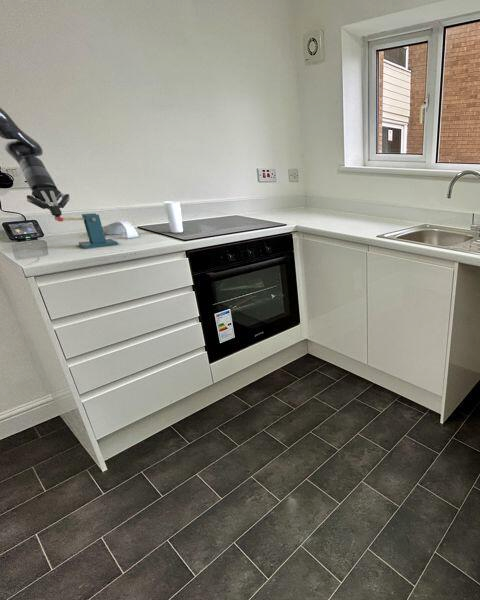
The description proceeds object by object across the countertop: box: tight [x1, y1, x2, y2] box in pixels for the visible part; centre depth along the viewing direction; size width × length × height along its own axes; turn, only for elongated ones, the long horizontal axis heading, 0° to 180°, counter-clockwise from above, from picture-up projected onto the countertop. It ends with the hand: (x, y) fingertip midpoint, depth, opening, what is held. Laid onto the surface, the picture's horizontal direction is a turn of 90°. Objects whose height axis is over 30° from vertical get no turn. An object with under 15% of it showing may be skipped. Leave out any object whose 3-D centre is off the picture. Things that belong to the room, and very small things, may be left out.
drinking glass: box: [163, 201, 184, 234], centre depth 177 cm, size 7×7×15 cm
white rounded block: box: [102, 220, 139, 239], centre depth 167 cm, size 24×12×7 cm, turn 61°
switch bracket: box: [77, 212, 119, 249], centre depth 147 cm, size 11×9×13 cm
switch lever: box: [53, 216, 86, 222], centre depth 141 cm, size 12×6×2 cm, turn 143°
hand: (57, 215), depth 137 cm, fingers closed
